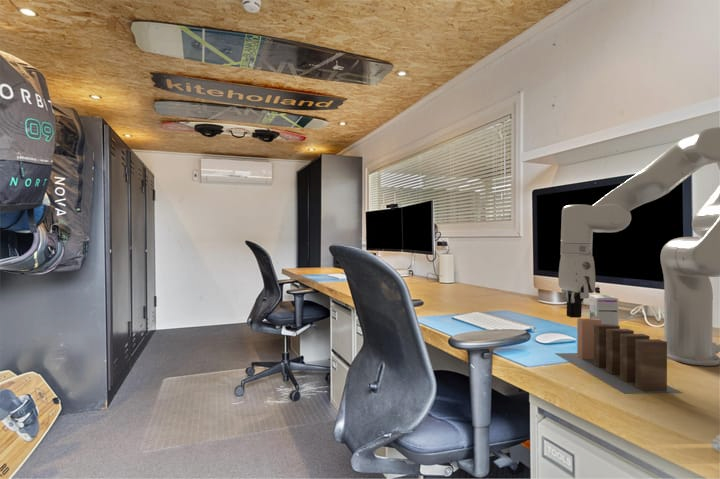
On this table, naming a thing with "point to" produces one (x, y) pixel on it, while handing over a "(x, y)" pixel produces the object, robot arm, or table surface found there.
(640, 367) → the domino
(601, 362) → the domino
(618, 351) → the domino
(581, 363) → the mat
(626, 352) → the domino
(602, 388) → the table surface
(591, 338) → the domino
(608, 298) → the syrup box
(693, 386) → the table surface
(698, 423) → the table surface
